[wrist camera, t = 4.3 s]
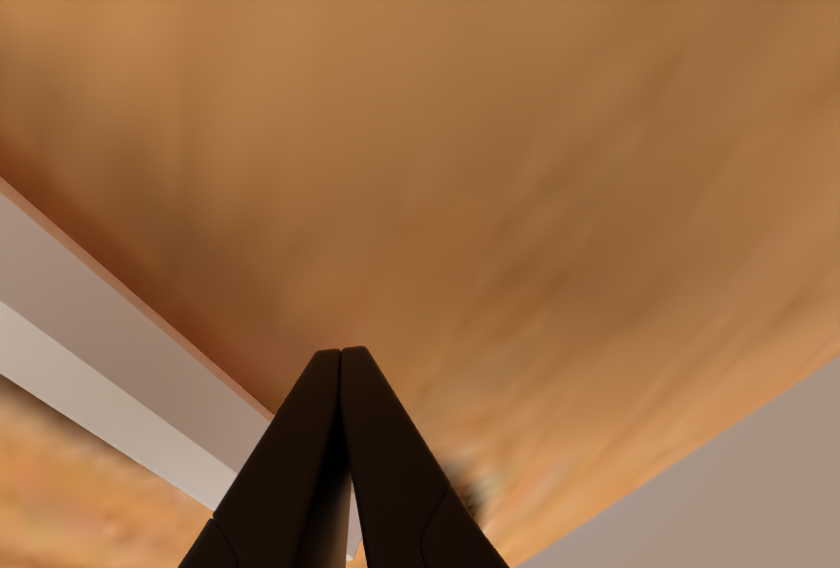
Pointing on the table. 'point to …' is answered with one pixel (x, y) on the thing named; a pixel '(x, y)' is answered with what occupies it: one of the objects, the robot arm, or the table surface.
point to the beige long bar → (120, 363)
